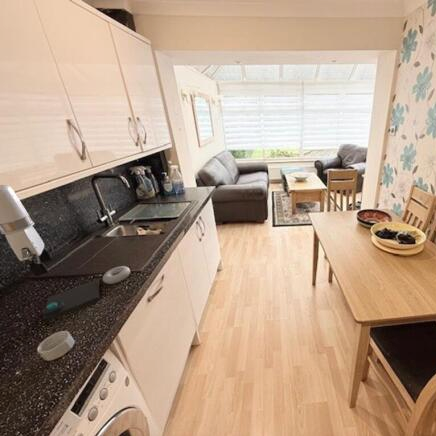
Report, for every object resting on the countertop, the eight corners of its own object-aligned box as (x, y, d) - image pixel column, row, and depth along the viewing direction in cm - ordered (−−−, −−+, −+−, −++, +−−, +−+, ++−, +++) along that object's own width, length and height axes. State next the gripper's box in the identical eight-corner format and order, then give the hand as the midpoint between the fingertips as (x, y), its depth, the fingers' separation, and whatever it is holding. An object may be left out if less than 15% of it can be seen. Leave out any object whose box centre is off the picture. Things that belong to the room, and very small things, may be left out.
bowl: (38, 359, 70) (30, 350, 68) (63, 338, 76) (57, 329, 75) (56, 363, 68) (49, 354, 67) (81, 341, 75) (75, 332, 73)
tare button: (47, 311, 84) (45, 308, 83) (48, 307, 86) (47, 304, 85) (57, 307, 85) (55, 305, 85) (58, 303, 87) (56, 301, 87)
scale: (44, 322, 83) (40, 316, 82) (50, 300, 93) (46, 294, 92) (100, 300, 91) (96, 294, 90) (99, 281, 101) (96, 276, 100)
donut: (105, 277, 105) (103, 289, 97) (101, 270, 103) (100, 282, 95) (131, 268, 109) (131, 279, 102) (128, 261, 108) (128, 272, 100)
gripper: (7, 219, 80) (35, 260, 88) (-11, 238, 67) (24, 285, 75) (37, 212, 84) (61, 252, 92) (25, 229, 71) (55, 274, 79)
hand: (44, 267), depth 83 cm, fingers open, 9 cm apart
